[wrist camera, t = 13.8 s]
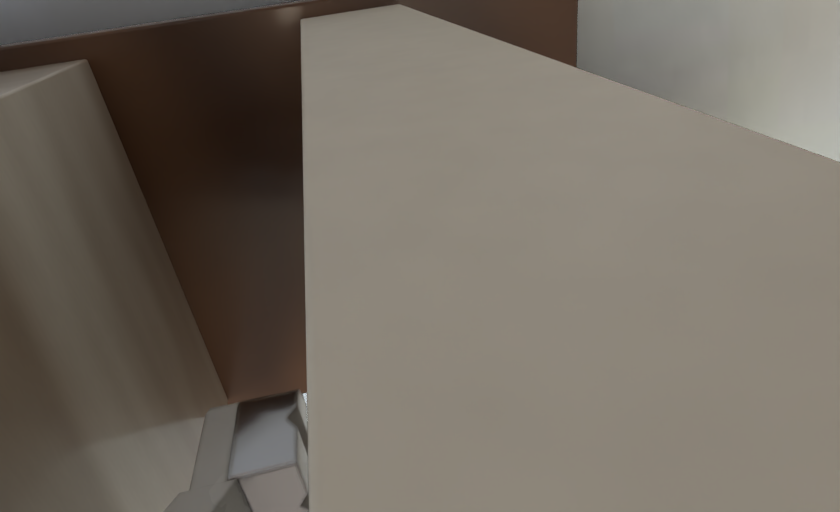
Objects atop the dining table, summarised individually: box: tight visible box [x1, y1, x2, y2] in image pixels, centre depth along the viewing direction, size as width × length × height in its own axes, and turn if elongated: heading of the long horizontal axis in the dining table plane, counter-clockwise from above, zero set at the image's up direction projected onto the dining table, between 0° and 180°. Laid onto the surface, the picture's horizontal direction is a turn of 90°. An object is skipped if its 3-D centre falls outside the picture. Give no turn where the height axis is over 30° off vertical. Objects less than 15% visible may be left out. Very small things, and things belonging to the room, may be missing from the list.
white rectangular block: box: [300, 4, 840, 512], centre depth 10 cm, size 2×11×14 cm, turn 7°
